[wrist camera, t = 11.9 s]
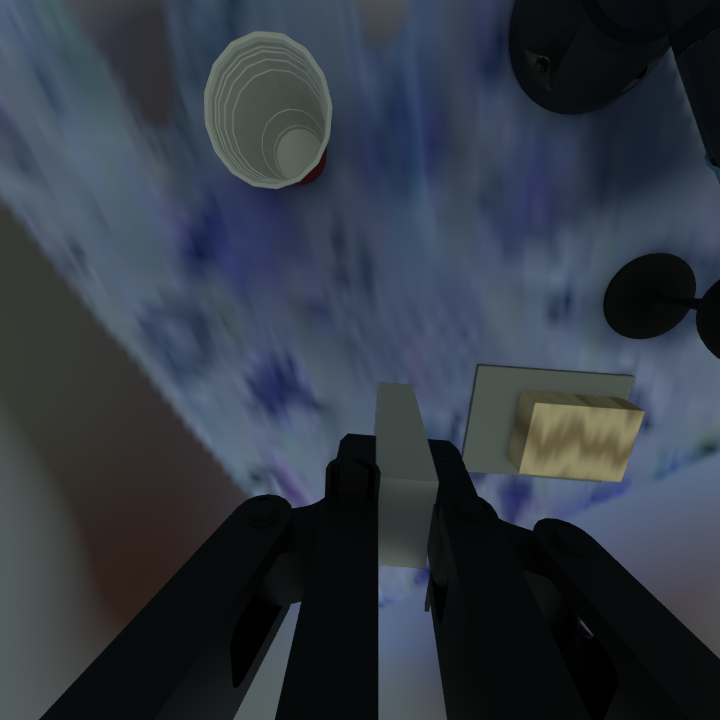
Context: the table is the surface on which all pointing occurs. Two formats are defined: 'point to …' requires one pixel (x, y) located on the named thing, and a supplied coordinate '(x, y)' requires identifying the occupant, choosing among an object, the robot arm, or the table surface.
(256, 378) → the table surface
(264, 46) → the plastic cup
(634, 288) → the wine glass
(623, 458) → the oak board
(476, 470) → the rubber mat
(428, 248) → the table surface
